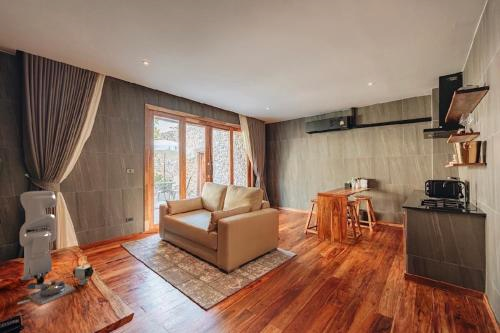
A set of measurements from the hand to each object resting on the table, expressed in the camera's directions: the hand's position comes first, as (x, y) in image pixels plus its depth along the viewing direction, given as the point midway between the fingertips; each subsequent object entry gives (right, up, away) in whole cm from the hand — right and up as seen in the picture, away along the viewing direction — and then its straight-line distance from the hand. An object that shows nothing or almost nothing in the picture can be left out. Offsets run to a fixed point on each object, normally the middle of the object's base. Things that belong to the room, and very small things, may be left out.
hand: (40, 284), depth 134 cm
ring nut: (+6, -2, -4) cm, 8 cm away
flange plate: (+10, -3, -7) cm, 13 cm away
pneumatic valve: (+21, -4, +8) cm, 23 cm away
